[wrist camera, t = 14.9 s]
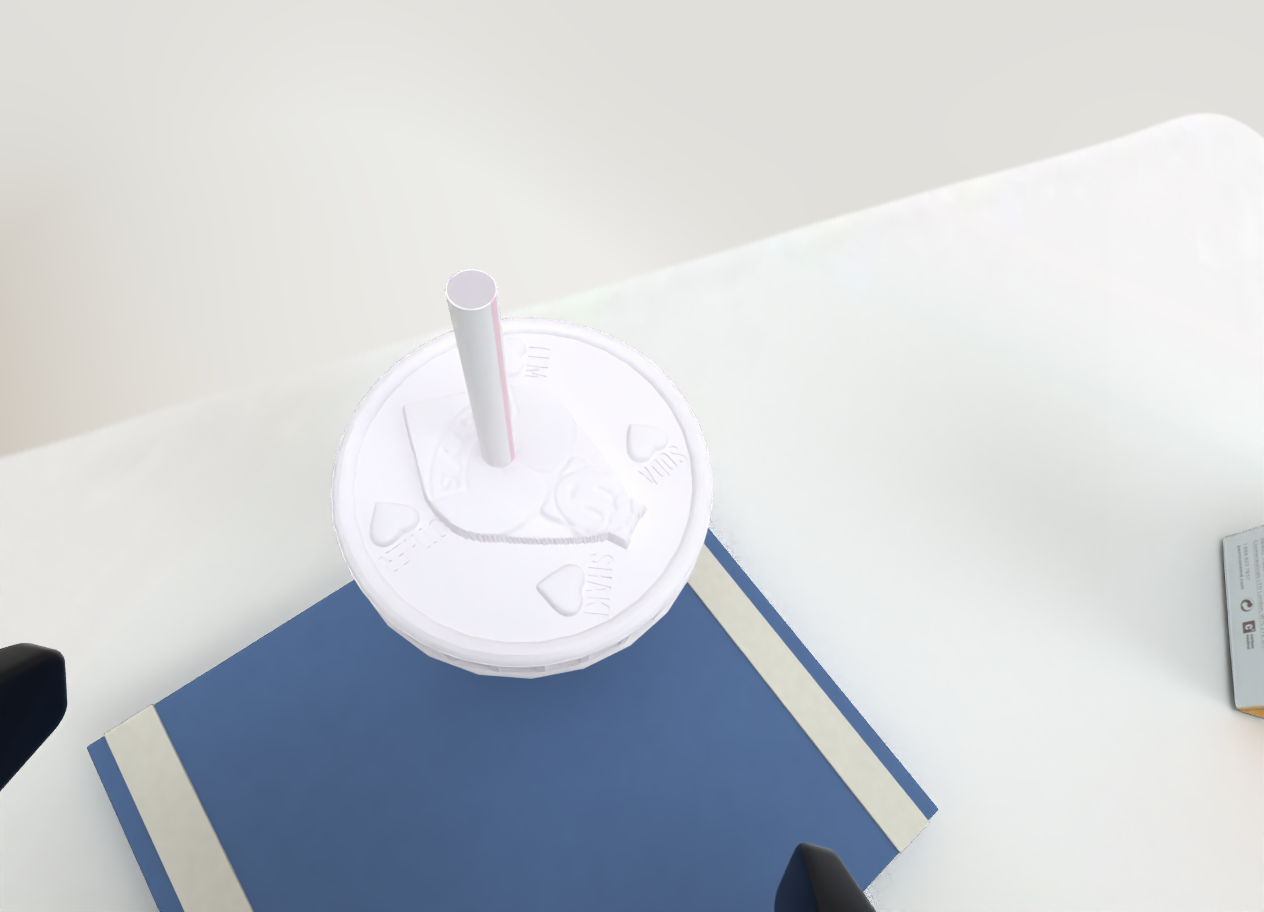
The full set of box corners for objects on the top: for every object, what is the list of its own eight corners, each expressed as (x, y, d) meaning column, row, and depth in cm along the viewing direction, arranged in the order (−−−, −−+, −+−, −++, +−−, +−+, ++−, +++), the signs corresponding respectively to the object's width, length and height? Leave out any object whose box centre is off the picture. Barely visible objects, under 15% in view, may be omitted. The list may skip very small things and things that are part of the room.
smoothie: (500, 464, 21) (427, 36, 9) (680, 555, 21) (878, 236, 8) (381, 647, 19) (34, 411, 6) (584, 757, 18) (658, 747, 6)
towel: (925, 807, 19) (941, 809, 19) (391, 1382, 14) (381, 1421, 13) (614, 425, 23) (616, 413, 23) (104, 748, 18) (82, 746, 17)
